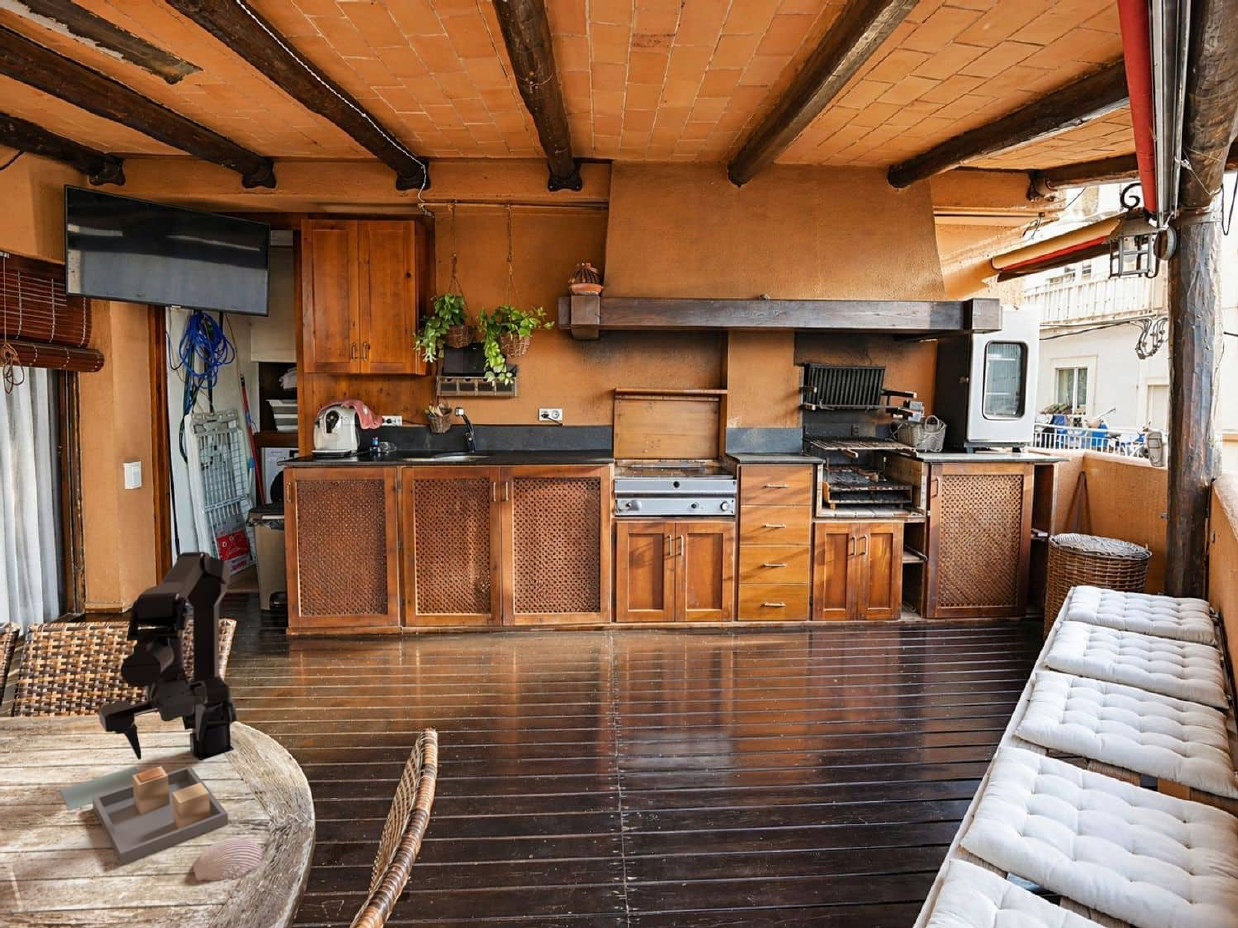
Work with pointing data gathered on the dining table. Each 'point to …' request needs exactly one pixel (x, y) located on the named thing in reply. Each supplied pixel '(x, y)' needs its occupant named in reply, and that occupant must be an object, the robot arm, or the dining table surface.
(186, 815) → the plain block
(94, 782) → the mat
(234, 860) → the seashell
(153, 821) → the parts bin
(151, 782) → the labelled block
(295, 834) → the dining table surface
